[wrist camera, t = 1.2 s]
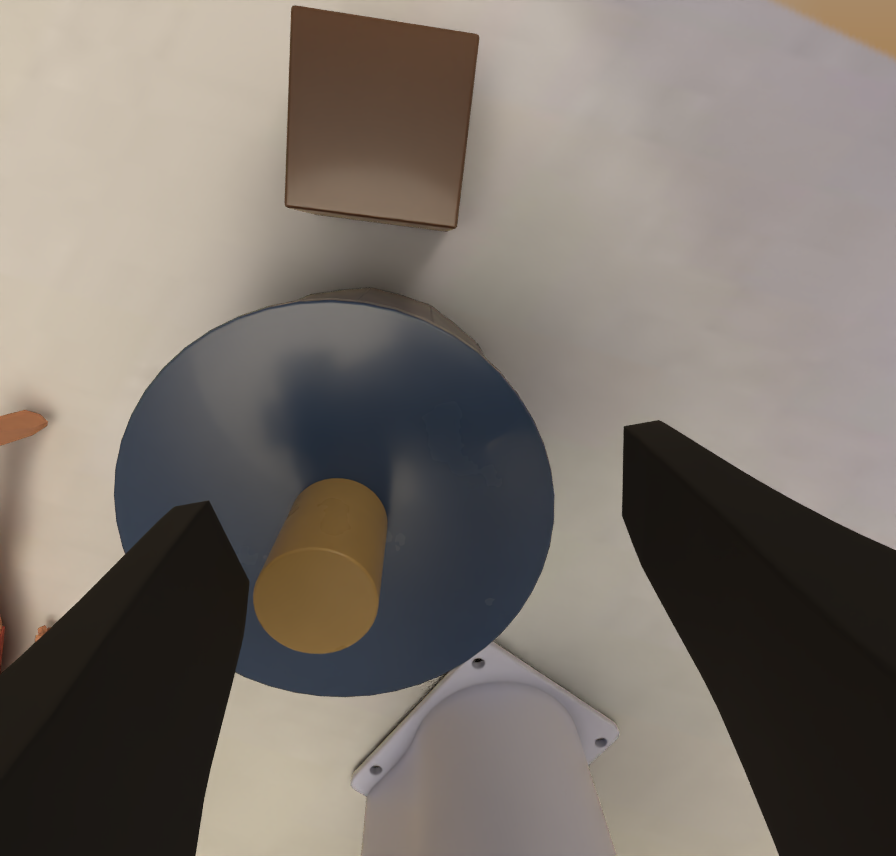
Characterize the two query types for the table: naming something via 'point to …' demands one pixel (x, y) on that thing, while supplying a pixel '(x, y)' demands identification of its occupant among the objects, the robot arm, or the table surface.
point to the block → (377, 118)
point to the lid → (348, 489)
